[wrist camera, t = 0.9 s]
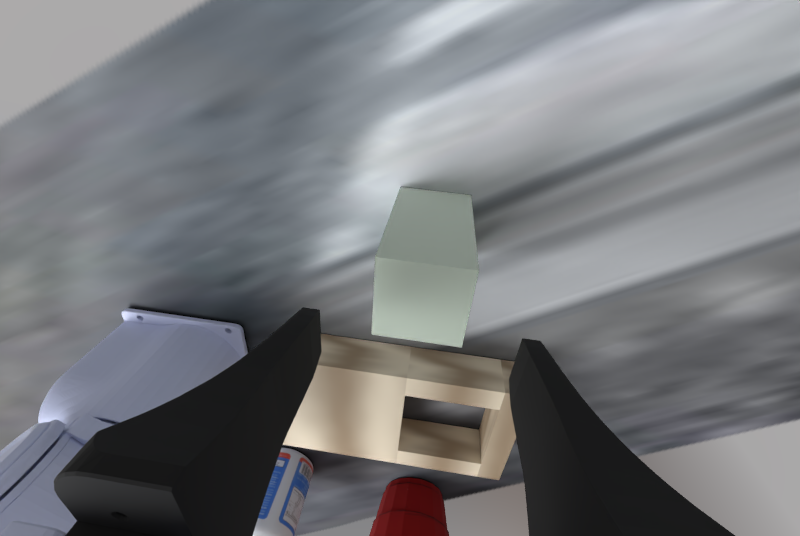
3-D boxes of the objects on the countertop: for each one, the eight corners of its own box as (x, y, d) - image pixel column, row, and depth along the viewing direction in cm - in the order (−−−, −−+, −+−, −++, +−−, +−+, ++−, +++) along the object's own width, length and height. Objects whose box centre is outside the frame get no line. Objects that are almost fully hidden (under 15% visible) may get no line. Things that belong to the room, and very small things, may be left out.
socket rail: (292, 413, 33) (279, 444, 31) (282, 328, 28) (265, 357, 25) (495, 445, 32) (499, 480, 30) (525, 363, 27) (532, 397, 24)
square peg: (395, 248, 23) (371, 334, 17) (400, 186, 21) (375, 257, 14) (459, 256, 23) (461, 347, 16) (471, 195, 21) (478, 270, 14)
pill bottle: (256, 463, 39) (202, 579, 30) (271, 438, 36) (217, 557, 28) (305, 483, 39) (265, 600, 31) (323, 459, 37) (285, 582, 28)
